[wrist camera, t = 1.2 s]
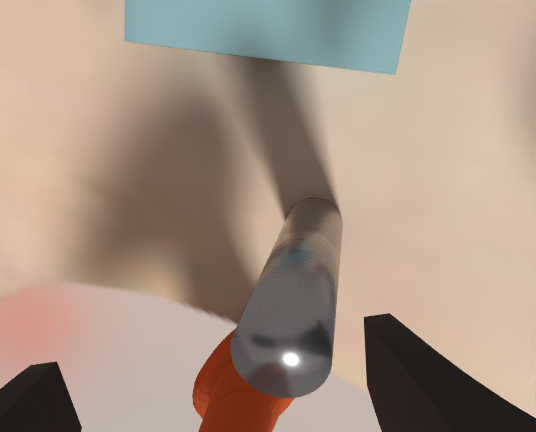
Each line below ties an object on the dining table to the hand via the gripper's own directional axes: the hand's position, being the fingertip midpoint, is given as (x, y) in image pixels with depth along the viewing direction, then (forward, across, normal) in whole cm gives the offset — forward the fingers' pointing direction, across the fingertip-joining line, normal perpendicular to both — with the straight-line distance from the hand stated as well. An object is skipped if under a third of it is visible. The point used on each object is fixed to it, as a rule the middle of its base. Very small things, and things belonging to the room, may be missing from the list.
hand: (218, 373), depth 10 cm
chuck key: (+10, -4, +1) cm, 11 cm away
